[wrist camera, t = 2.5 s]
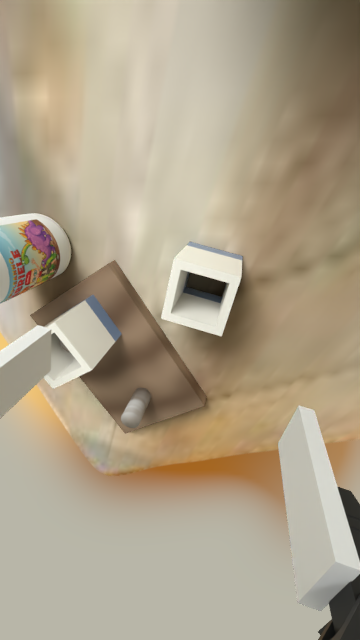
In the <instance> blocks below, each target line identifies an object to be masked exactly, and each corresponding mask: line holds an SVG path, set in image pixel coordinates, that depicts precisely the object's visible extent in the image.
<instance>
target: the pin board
mask: <svg viewBox="0 0 360 640" xmlns="http://www.w3.org/2000/svg"><path fill="white" fill-rule="evenodd" d="M91 295H94V296H95V298H96V299H97V300H98V302H99V303H100V304H101V306H102V307H103V309H104V310H105V311H106V313H107V314H108V316H109V317H110V318H111V320H112V321H113V323H114V324H115V325H116V327H117V328H118V329H119V331H120V332H121V336H120V337H119V338H118V339H117V340H116V342H115V343H114V344H113V345H112V347H111V348H110V349H109V350H108V351H107V353H106V354H105V355H104V356H103V357H102V359H101V360H100V361H99V362H98V364H97V365H96V366H95V367H94V368H93V370H91V371H89V372H87V373H85V374H83V375H81V376H79V377H80V378H81V379H82V380H83V382H84V383H85V384H86V385H87V387H88V388H89V389H90V390H91V392H92V393H93V394H94V395H95V397H96V398H97V399H98V400H99V402H100V403H101V404H102V405H103V407H104V408H105V409H106V410H107V411H108V413H109V414H110V415H111V416H112V418H113V419H114V420H115V421H116V423H117V424H118V425H119V426H120V428H121V429H122V430H123V431H124V433H128V432H131V431H134V430H137V429H140V428H143V427H145V426H148V425H151V424H154V423H157V422H160V421H163V420H166V419H168V418H171V417H174V416H177V415H180V414H183V413H186V412H189V411H191V410H194V409H197V408H200V407H203V406H205V401H206V395H205V393H204V392H203V390H202V389H201V387H200V386H199V385H198V383H197V382H196V380H195V379H194V377H193V376H192V374H191V373H190V371H189V370H188V368H187V367H186V365H185V364H184V362H183V361H182V359H181V358H180V356H179V355H178V353H177V352H176V350H175V349H174V347H173V346H172V344H171V343H170V341H169V340H168V338H167V337H166V335H165V334H164V332H163V331H162V329H161V328H160V326H159V325H158V324H157V322H156V321H155V319H154V318H153V316H152V315H151V313H150V312H149V310H148V309H147V307H146V306H145V304H144V303H143V301H142V300H141V298H140V297H139V295H138V294H137V292H136V291H135V289H134V288H133V286H132V285H131V283H130V282H129V280H128V279H127V277H126V276H125V274H124V273H123V271H122V270H121V268H120V267H119V265H118V264H117V263H116V261H115V260H114V261H112V262H111V263H109V264H107V265H106V266H104V267H103V268H101V269H100V270H98V271H97V272H95V273H94V274H92V275H91V276H89V277H88V278H86V279H84V280H83V281H81V282H80V283H78V284H77V285H75V286H74V287H72V288H71V289H69V290H68V291H66V292H65V293H63V294H62V295H60V296H59V297H57V298H56V299H54V300H53V301H51V302H50V303H48V304H47V305H45V306H43V307H42V308H40V309H39V310H37V311H36V312H34V313H33V314H31V315H30V316H31V317H32V318H33V320H34V321H35V322H36V323H37V325H39V326H43V327H44V326H45V325H47V324H48V323H49V322H51V321H52V320H54V319H55V318H57V317H58V316H59V315H61V314H62V313H64V312H66V311H67V310H69V309H71V308H72V307H74V306H75V305H77V304H79V303H80V302H82V301H83V300H85V299H87V298H88V297H90V296H91ZM60 345H61V347H62V348H63V349H64V350H65V351H67V352H70V351H69V350H68V349H67V347H66V346H65V345H64V344H63V342H62V341H61V340H60ZM70 353H71V352H70Z"/></svg>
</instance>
